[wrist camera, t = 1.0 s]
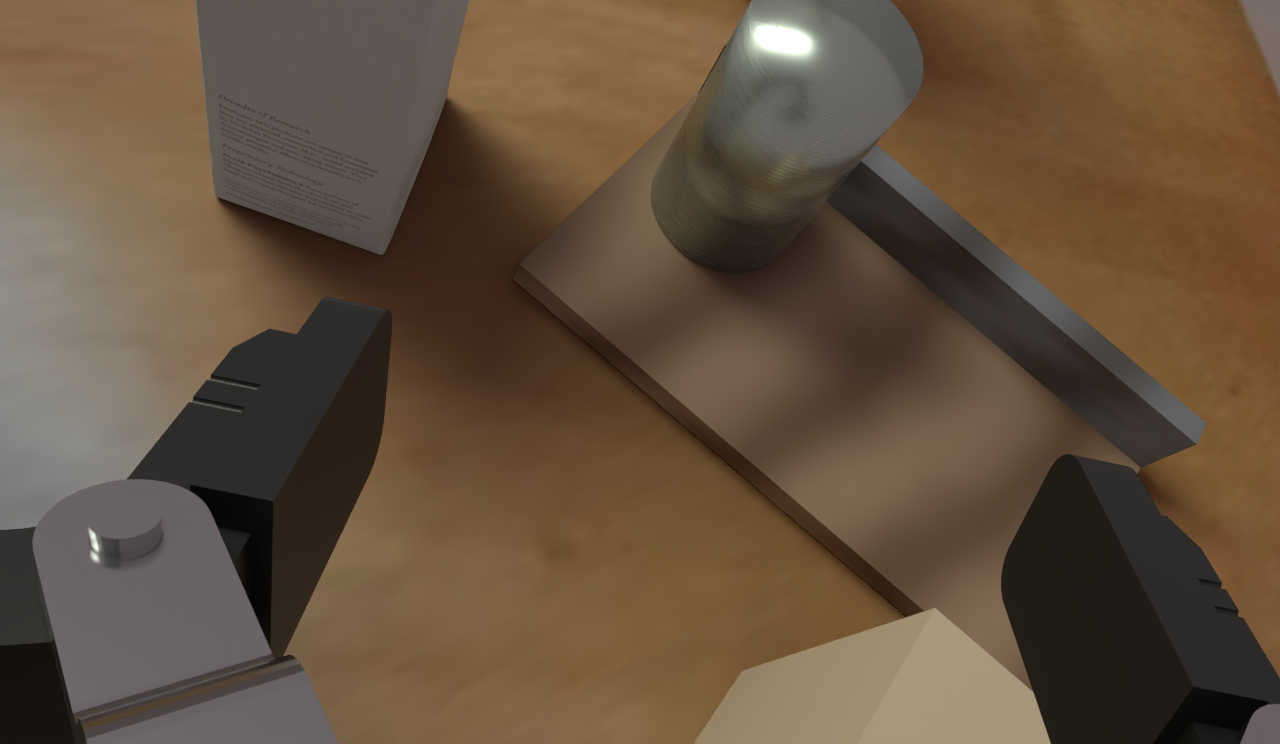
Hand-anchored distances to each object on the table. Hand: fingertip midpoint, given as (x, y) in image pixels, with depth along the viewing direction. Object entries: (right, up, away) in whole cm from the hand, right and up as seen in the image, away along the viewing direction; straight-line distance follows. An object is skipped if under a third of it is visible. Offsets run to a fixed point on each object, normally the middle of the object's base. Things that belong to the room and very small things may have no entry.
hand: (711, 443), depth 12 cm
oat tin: (+2, +7, +29) cm, 30 cm away
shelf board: (+7, +1, +29) cm, 30 cm away
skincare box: (-12, +9, +26) cm, 30 cm away
